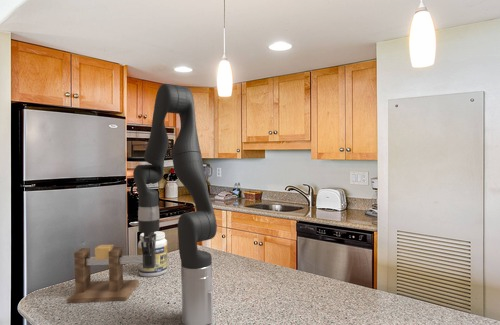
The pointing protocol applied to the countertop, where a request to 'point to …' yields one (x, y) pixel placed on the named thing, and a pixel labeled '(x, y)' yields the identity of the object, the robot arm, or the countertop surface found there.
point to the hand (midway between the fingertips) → (149, 263)
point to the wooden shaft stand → (100, 289)
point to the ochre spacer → (103, 251)
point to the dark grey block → (125, 260)
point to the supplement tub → (160, 256)
